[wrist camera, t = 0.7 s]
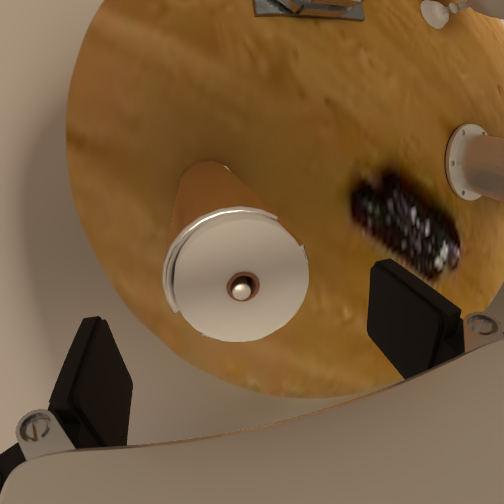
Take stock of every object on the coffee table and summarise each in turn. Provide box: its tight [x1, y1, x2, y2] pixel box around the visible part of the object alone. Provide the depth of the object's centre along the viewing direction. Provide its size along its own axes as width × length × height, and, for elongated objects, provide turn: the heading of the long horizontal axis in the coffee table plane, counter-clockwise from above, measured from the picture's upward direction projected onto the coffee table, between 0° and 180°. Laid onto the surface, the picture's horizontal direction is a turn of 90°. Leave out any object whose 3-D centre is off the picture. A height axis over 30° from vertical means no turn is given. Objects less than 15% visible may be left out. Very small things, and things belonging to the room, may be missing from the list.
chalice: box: [421, 0, 504, 29], centre depth 23 cm, size 7×7×18 cm
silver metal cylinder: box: [162, 160, 309, 342], centre depth 24 cm, size 6×6×25 cm
